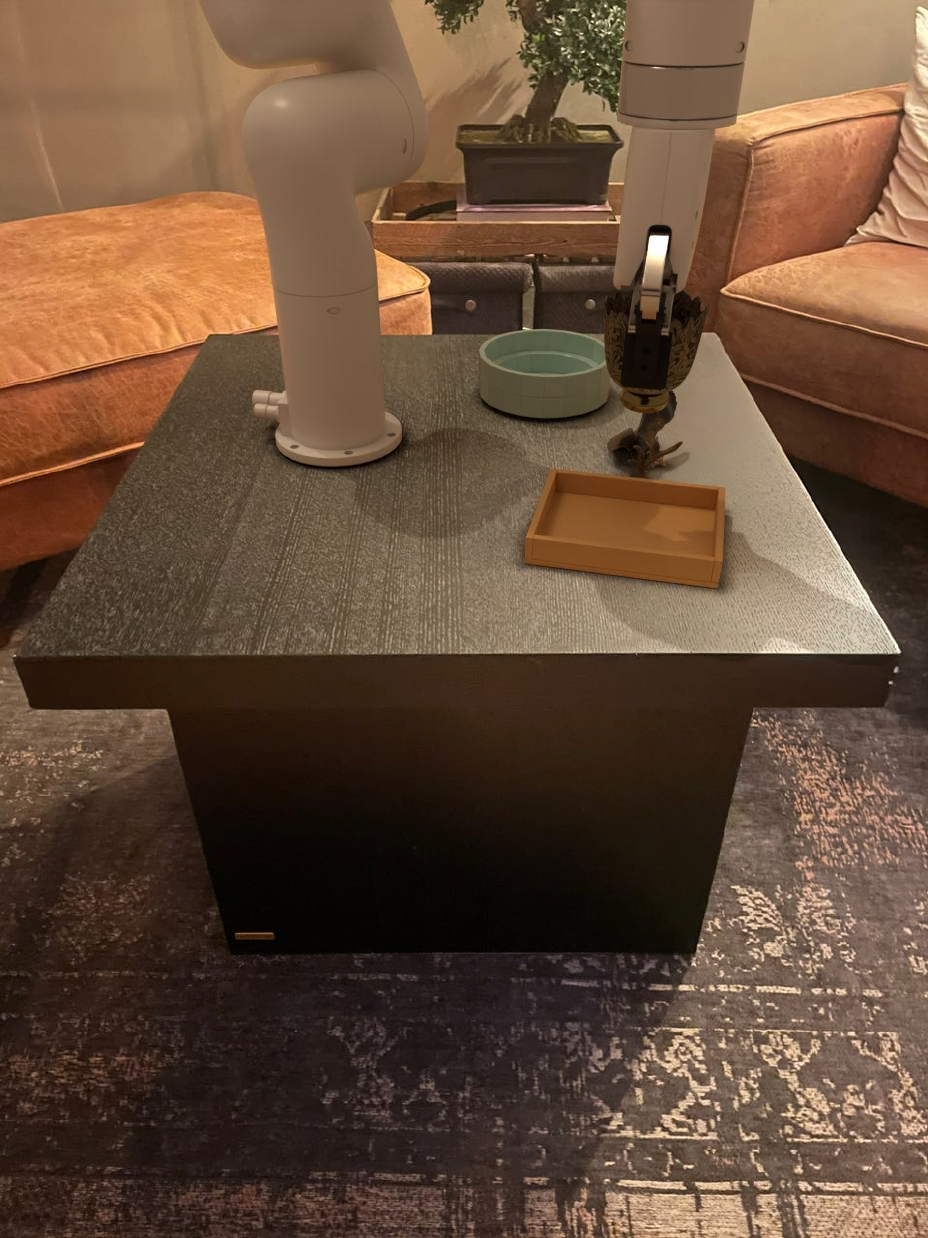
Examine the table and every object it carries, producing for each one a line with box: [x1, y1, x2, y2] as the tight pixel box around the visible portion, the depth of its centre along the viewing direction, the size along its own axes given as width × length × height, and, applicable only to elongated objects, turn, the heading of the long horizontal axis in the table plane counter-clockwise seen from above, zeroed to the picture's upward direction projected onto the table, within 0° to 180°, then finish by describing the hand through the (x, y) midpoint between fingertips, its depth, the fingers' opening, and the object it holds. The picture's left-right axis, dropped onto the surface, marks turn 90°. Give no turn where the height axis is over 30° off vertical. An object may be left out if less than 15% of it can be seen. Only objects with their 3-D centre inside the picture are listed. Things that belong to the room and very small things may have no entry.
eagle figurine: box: [606, 390, 684, 478], centre depth 86 cm, size 8×7×9 cm
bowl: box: [478, 328, 612, 419], centre depth 100 cm, size 14×14×5 cm
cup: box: [602, 288, 710, 414], centre depth 68 cm, size 8×7×8 cm
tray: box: [524, 467, 727, 589], centre depth 76 cm, size 15×12×2 cm
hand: (647, 364), depth 68 cm, fingers closed on cup, 7 cm apart
